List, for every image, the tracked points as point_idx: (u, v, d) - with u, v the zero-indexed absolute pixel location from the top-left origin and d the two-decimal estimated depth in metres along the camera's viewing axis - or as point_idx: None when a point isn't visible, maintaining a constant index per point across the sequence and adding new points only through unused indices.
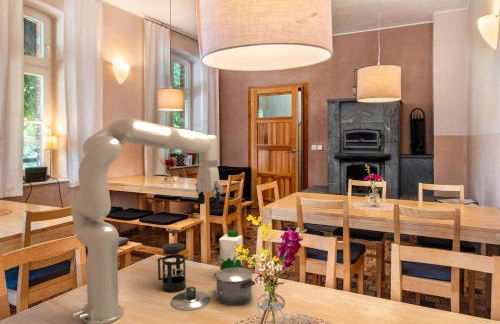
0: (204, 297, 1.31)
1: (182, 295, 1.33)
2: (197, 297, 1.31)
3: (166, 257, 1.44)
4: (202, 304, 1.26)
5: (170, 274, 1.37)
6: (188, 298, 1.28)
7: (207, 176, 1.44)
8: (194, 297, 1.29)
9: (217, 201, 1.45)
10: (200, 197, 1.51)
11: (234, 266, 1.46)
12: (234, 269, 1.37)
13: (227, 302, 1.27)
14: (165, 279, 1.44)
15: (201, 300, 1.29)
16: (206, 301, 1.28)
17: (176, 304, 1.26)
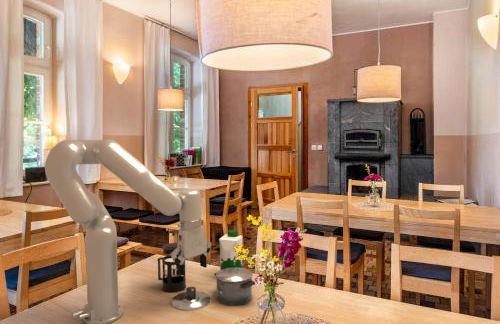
0: (204, 297, 1.31)
1: (182, 295, 1.33)
2: (197, 297, 1.31)
3: (166, 257, 1.44)
4: (202, 304, 1.26)
5: (170, 274, 1.37)
6: (188, 298, 1.28)
7: (202, 236, 1.29)
8: (194, 297, 1.29)
9: None
10: None
11: (234, 266, 1.46)
12: (234, 269, 1.37)
13: (227, 302, 1.27)
14: (165, 279, 1.44)
15: (201, 300, 1.29)
16: (206, 301, 1.28)
17: (176, 304, 1.26)
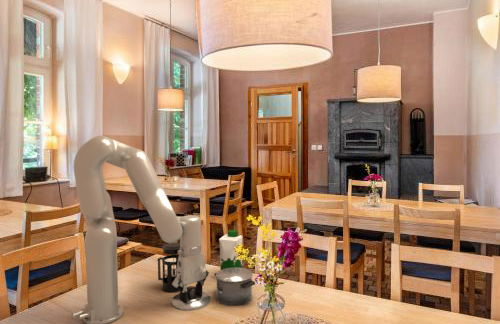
0: (205, 297, 1.31)
1: None
2: (197, 296, 1.31)
3: (166, 257, 1.44)
4: (202, 303, 1.26)
5: (170, 274, 1.37)
6: (188, 297, 1.28)
7: (201, 262, 1.29)
8: (194, 296, 1.29)
9: None
10: None
11: (234, 266, 1.46)
12: (234, 269, 1.37)
13: (227, 302, 1.27)
14: (165, 279, 1.44)
15: (201, 299, 1.29)
16: (206, 300, 1.28)
17: (176, 303, 1.26)
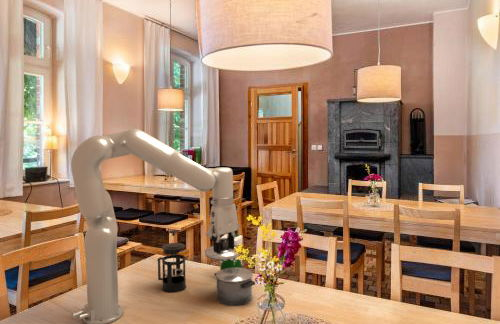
0: None
1: None
2: (230, 248, 1.32)
3: (166, 257, 1.44)
4: None
5: (170, 274, 1.37)
6: (221, 248, 1.29)
7: (233, 213, 1.30)
8: (227, 247, 1.30)
9: None
10: None
11: (234, 266, 1.46)
12: (234, 269, 1.37)
13: (227, 302, 1.27)
14: (165, 279, 1.44)
15: (234, 250, 1.30)
16: None
17: (210, 253, 1.27)
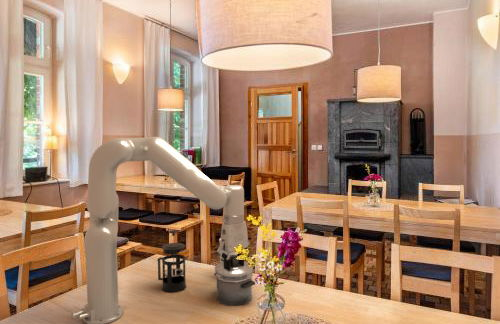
0: (247, 265, 1.33)
1: None
2: (240, 265, 1.33)
3: (166, 257, 1.44)
4: (246, 271, 1.28)
5: (170, 274, 1.37)
6: (231, 265, 1.30)
7: (244, 231, 1.31)
8: (237, 264, 1.31)
9: None
10: None
11: None
12: None
13: (227, 302, 1.27)
14: (165, 279, 1.44)
15: (244, 267, 1.31)
16: (249, 268, 1.30)
17: (220, 271, 1.28)
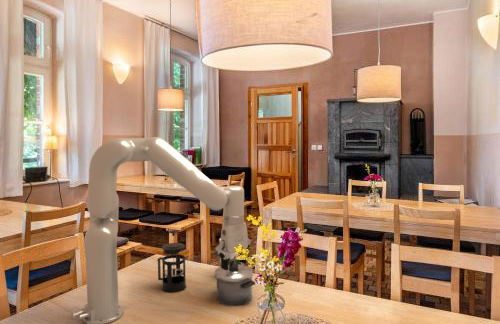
0: (246, 269, 1.33)
1: None
2: (239, 269, 1.33)
3: (166, 257, 1.44)
4: (246, 275, 1.28)
5: (170, 274, 1.37)
6: (231, 270, 1.31)
7: (244, 231, 1.31)
8: (237, 269, 1.31)
9: None
10: None
11: None
12: None
13: (227, 302, 1.27)
14: (165, 279, 1.44)
15: (244, 272, 1.31)
16: (249, 272, 1.30)
17: (220, 275, 1.28)
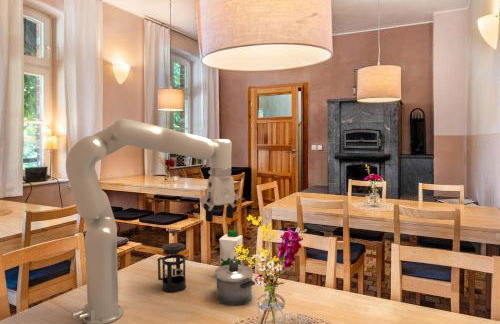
0: (246, 269, 1.33)
1: (224, 267, 1.35)
2: (239, 269, 1.33)
3: (166, 257, 1.44)
4: (246, 275, 1.28)
5: (170, 274, 1.37)
6: (231, 270, 1.31)
7: (230, 185, 1.30)
8: (237, 269, 1.31)
9: None
10: None
11: None
12: None
13: (227, 302, 1.27)
14: (165, 279, 1.44)
15: (244, 272, 1.31)
16: (249, 272, 1.30)
17: (220, 275, 1.28)
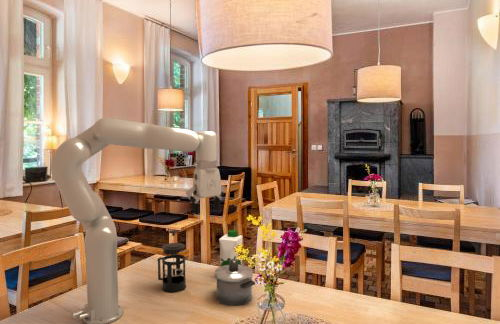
0: (246, 269, 1.33)
1: (224, 267, 1.35)
2: (239, 269, 1.33)
3: (166, 257, 1.44)
4: (246, 275, 1.28)
5: (170, 274, 1.37)
6: (231, 270, 1.31)
7: (217, 177, 1.30)
8: (237, 269, 1.31)
9: None
10: None
11: None
12: None
13: (227, 302, 1.27)
14: (165, 279, 1.44)
15: (244, 272, 1.31)
16: (249, 272, 1.30)
17: (220, 275, 1.28)
